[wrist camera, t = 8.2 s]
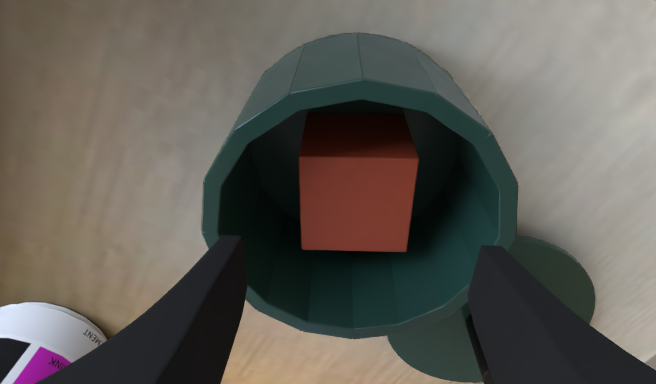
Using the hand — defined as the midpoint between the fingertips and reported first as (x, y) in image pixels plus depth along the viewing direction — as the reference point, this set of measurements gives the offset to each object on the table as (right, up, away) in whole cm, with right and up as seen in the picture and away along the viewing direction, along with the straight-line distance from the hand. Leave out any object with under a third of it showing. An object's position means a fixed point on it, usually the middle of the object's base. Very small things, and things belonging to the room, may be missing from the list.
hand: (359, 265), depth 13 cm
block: (0, +4, +6) cm, 8 cm away
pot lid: (+8, -5, +11) cm, 15 cm away
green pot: (0, +4, +7) cm, 8 cm away
